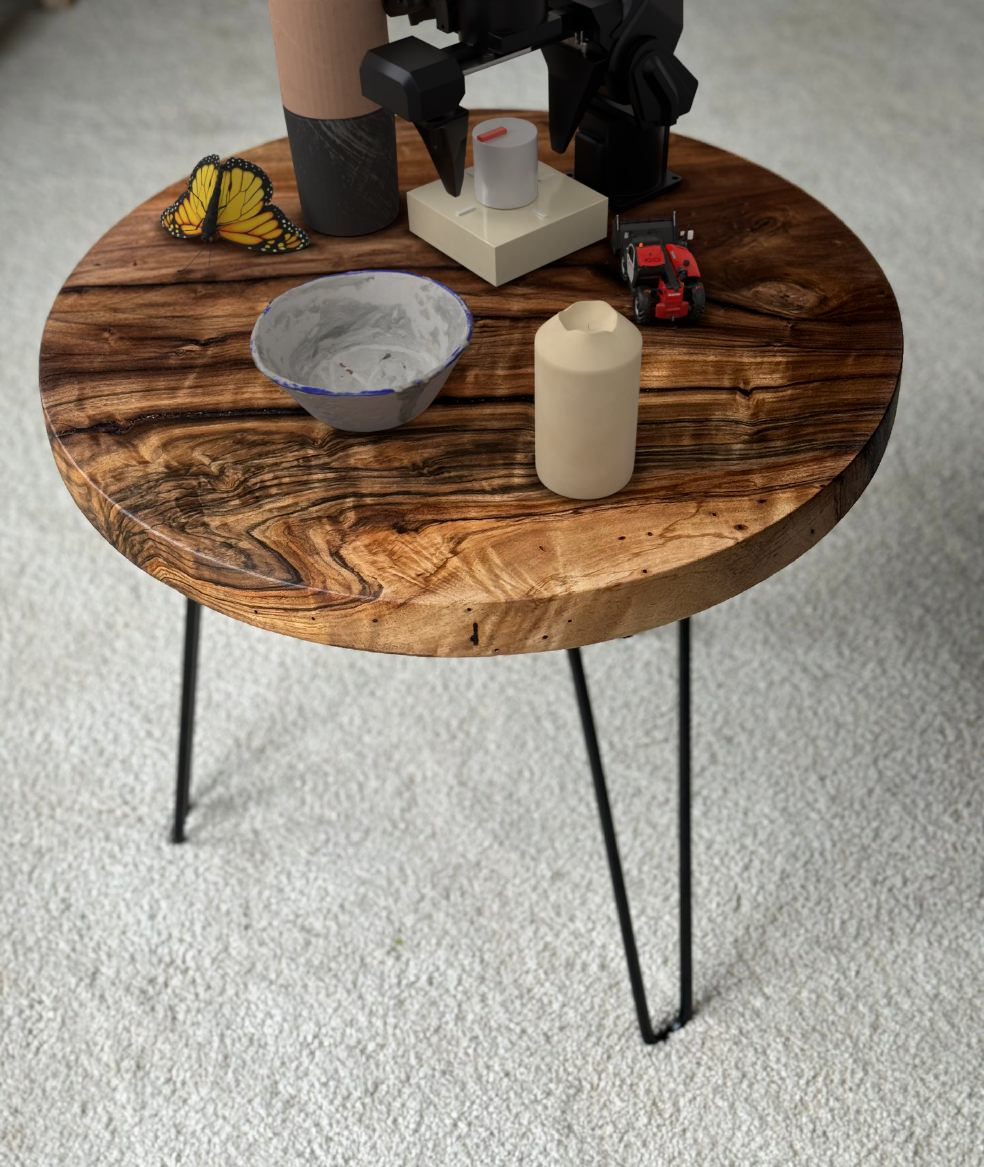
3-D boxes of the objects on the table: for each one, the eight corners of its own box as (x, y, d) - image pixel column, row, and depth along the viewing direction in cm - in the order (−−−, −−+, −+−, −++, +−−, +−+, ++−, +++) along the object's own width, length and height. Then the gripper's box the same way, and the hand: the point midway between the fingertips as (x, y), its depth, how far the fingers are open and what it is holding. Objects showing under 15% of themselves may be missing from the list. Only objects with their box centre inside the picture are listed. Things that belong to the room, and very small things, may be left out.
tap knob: (511, 172, 88) (509, 106, 84) (551, 195, 85) (551, 128, 82) (461, 192, 86) (458, 126, 82) (501, 216, 83) (499, 148, 80)
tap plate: (517, 186, 93) (516, 145, 90) (607, 237, 87) (608, 195, 85) (409, 230, 88) (405, 189, 86) (496, 287, 83) (494, 245, 80)
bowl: (477, 328, 79) (474, 261, 76) (475, 456, 70) (472, 387, 67) (276, 333, 79) (264, 267, 76) (249, 461, 70) (234, 393, 67)
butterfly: (266, 285, 82) (295, 305, 87) (295, 157, 82) (322, 184, 87) (110, 258, 85) (146, 279, 90) (138, 133, 85) (173, 161, 90)
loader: (607, 244, 86) (610, 180, 83) (672, 239, 86) (678, 175, 83) (638, 340, 78) (642, 274, 74) (710, 335, 78) (717, 268, 75)
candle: (627, 506, 67) (637, 351, 60) (527, 495, 68) (525, 340, 61) (639, 443, 71) (650, 290, 63) (544, 433, 71) (544, 281, 64)
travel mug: (413, 191, 92) (391, -104, 79) (389, 242, 87) (361, -64, 73) (315, 185, 94) (276, -106, 80) (285, 235, 88) (238, -68, 74)
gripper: (534, -137, 82) (535, 95, 93) (295, -70, 74) (328, 174, 85) (650, -98, 76) (637, 146, 87) (403, -21, 68) (423, 236, 79)
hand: (506, 172), depth 84 cm, fingers open, 9 cm apart
